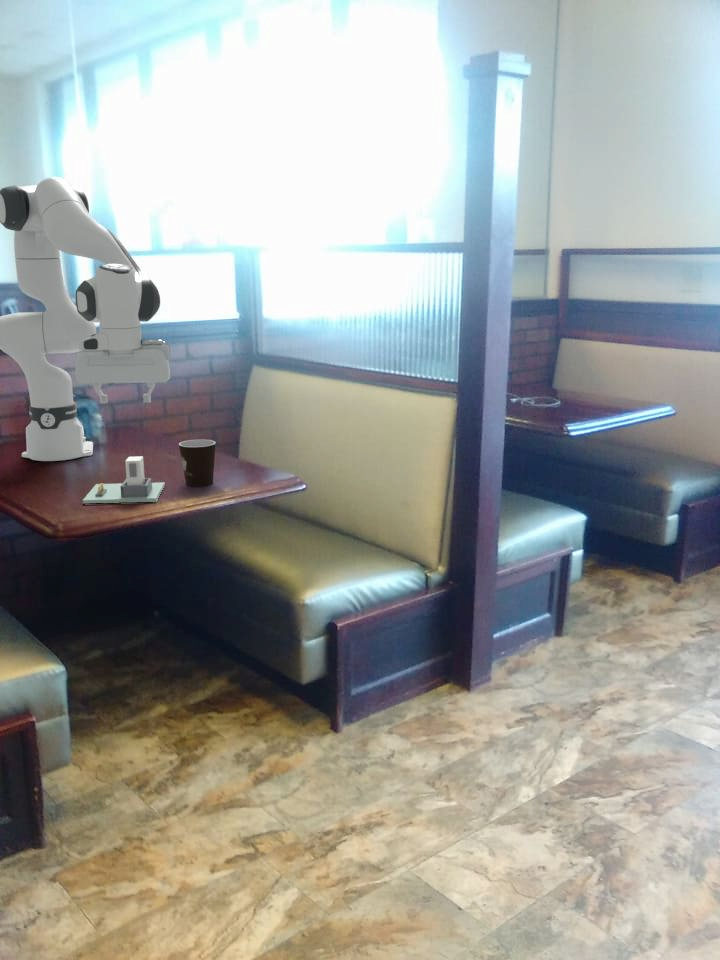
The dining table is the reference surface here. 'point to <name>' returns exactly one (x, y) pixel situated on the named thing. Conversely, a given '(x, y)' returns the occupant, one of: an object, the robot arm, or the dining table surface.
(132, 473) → the plug
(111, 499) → the board
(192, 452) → the coffee mug
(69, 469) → the dining table surface
